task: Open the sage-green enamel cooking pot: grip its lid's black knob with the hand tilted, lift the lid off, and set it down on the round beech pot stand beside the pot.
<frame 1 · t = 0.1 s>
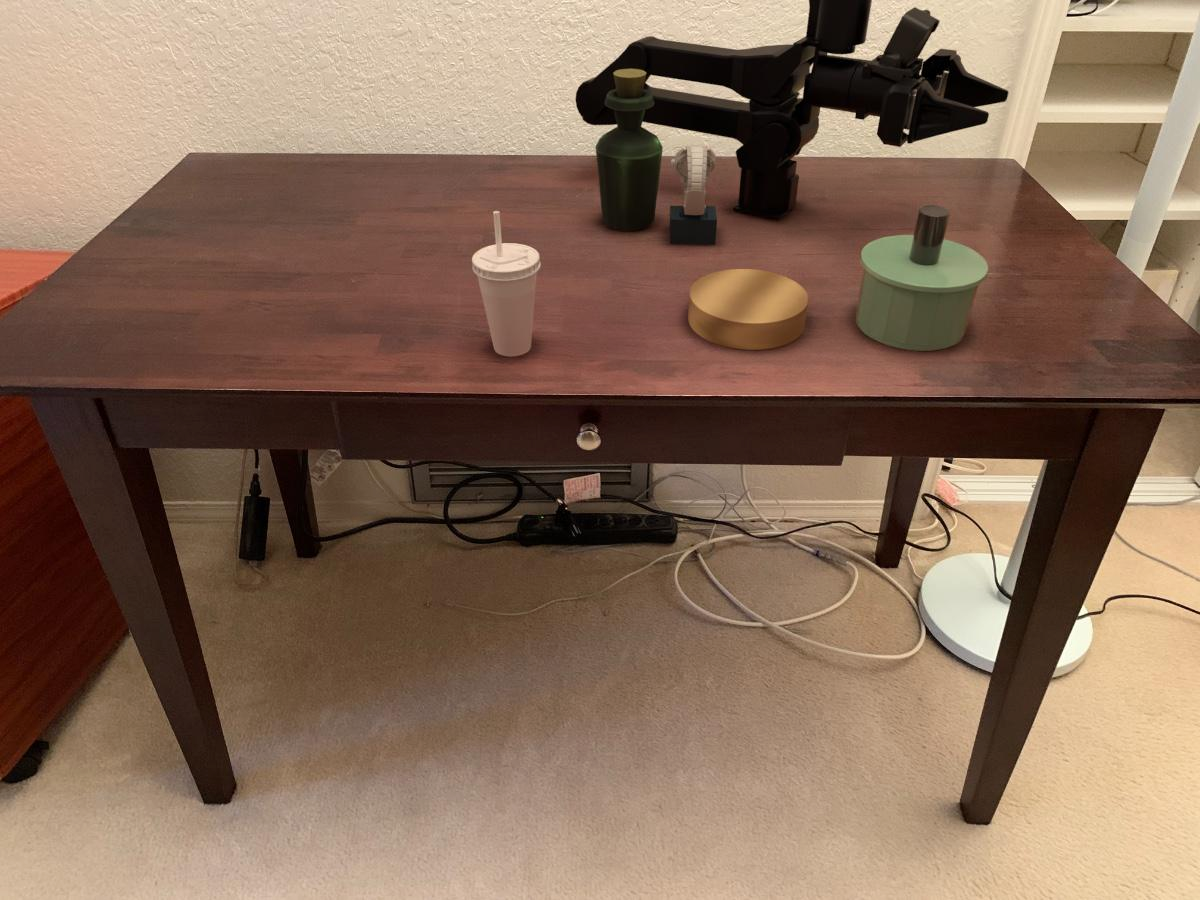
hand: (998, 106, 98), 17 cm above the table, tool horizontal, fingers open, 9 cm apart
potion bottle: (628, 223, 115), on the table
watch: (691, 238, 112), on the table
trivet: (746, 320, 94), on the table
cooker: (909, 324, 93), on the table
smoothie: (512, 348, 90), on the table
cooker lid: (922, 265, 89), point 7 cm above the table, touching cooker
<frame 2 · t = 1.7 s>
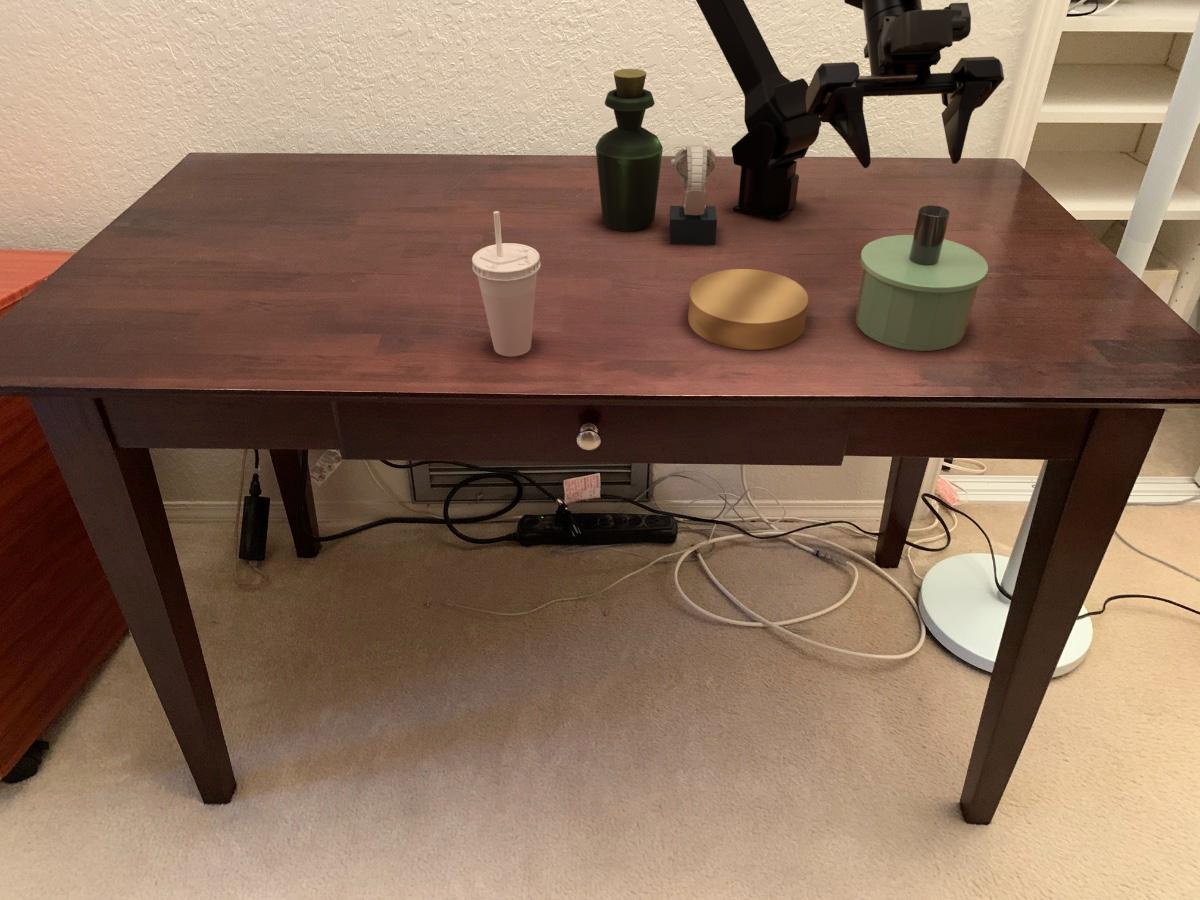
hand: (912, 164, 92), 14 cm above the table, tool tilted 45°, fingers open, 9 cm apart
nothing on the table moved.
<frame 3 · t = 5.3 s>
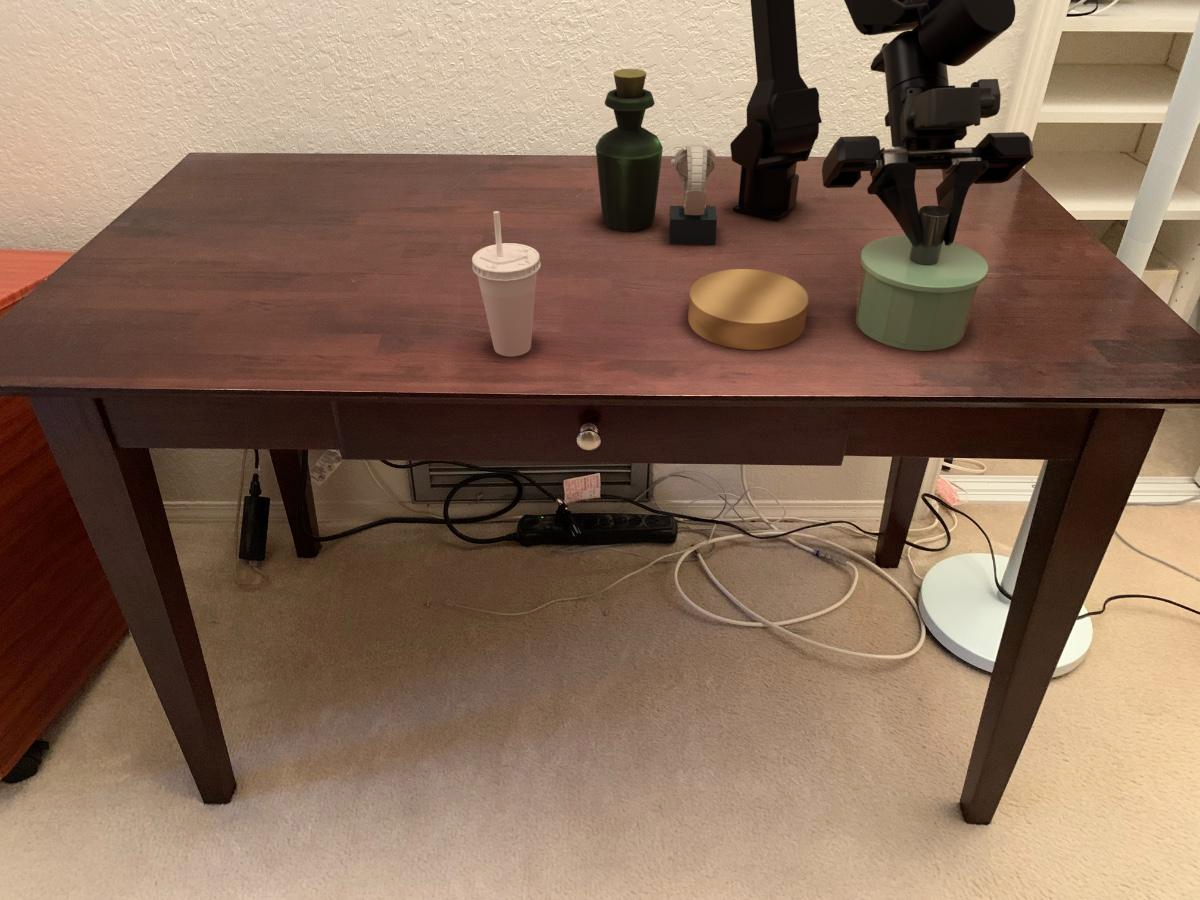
hand: (933, 244, 87), 9 cm above the table, tool tilted 45°, fingers closed on cooker lid, 3 cm apart
cooker lid: (922, 265, 89), point 7 cm above the table, touching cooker, gripper
everything else where it was.
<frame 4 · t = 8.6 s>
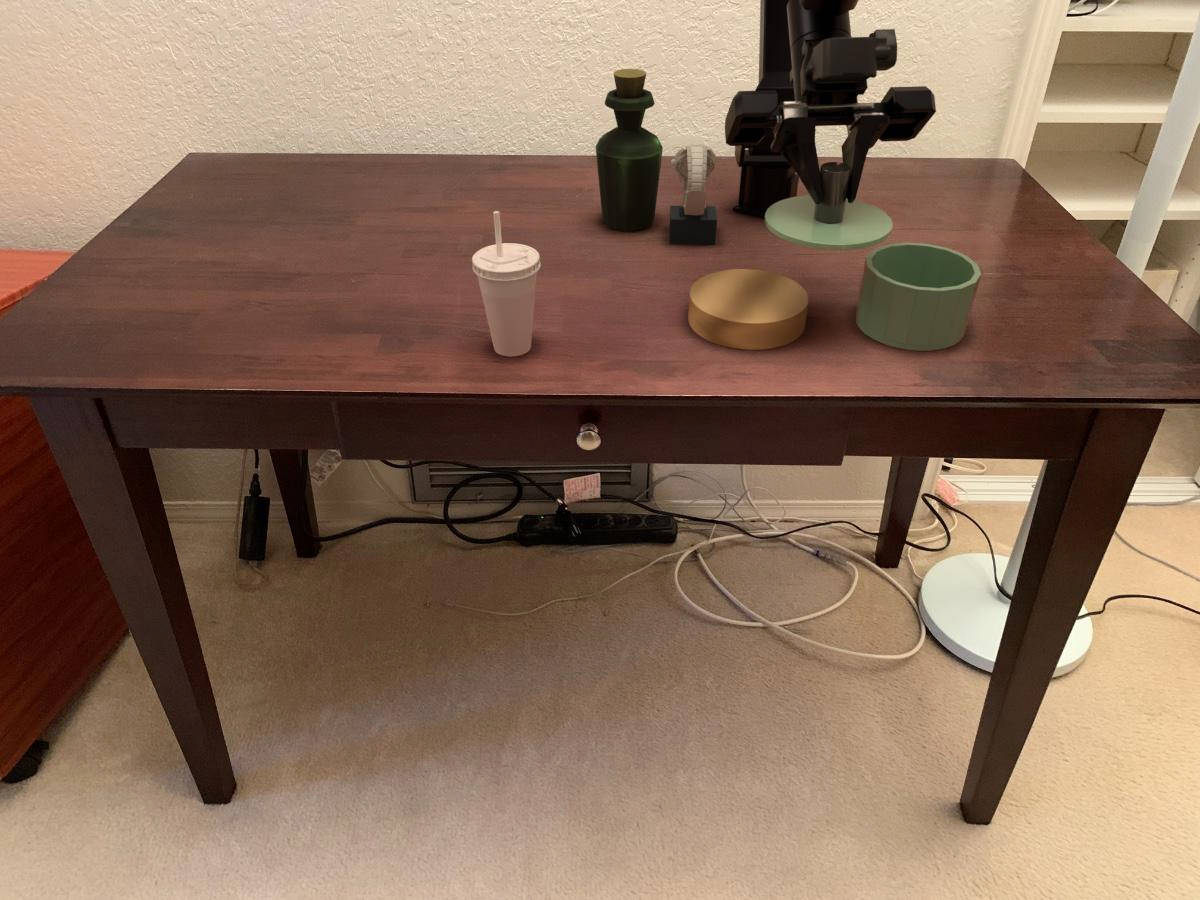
hand: (835, 201, 85), 13 cm above the table, tool tilted 45°, fingers closed on cooker lid, 3 cm apart
cooker lid: (827, 224, 87), point 11 cm above the table, touching gripper
everything else where it was.
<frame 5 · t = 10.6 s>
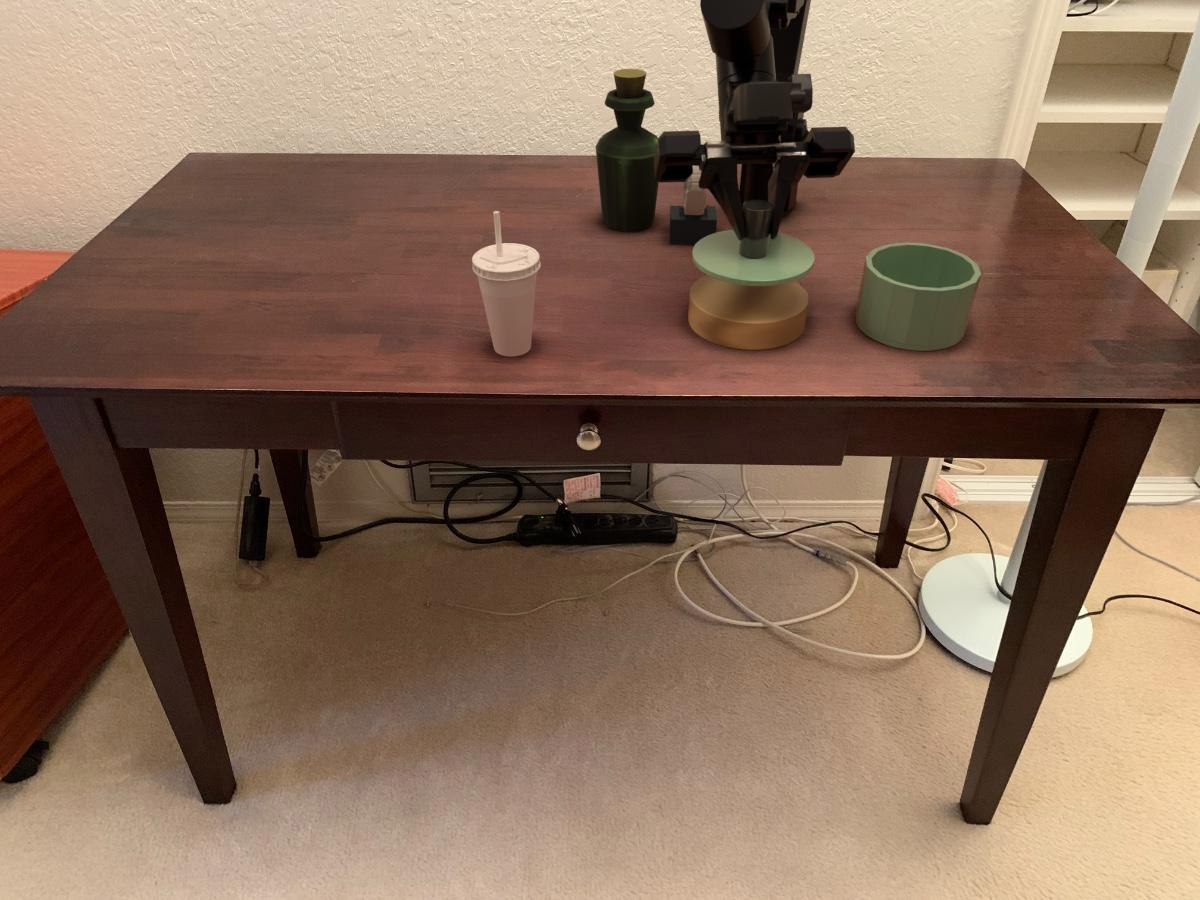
hand: (757, 238, 87), 10 cm above the table, tool tilted 45°, fingers closed on cooker lid, 3 cm apart
cooker lid: (752, 258, 90), point 7 cm above the table, touching gripper
everything else where it was.
when the fingers open (6 cm above the table, at t = 11.8 s): cooker lid stays where it is, resting on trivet.
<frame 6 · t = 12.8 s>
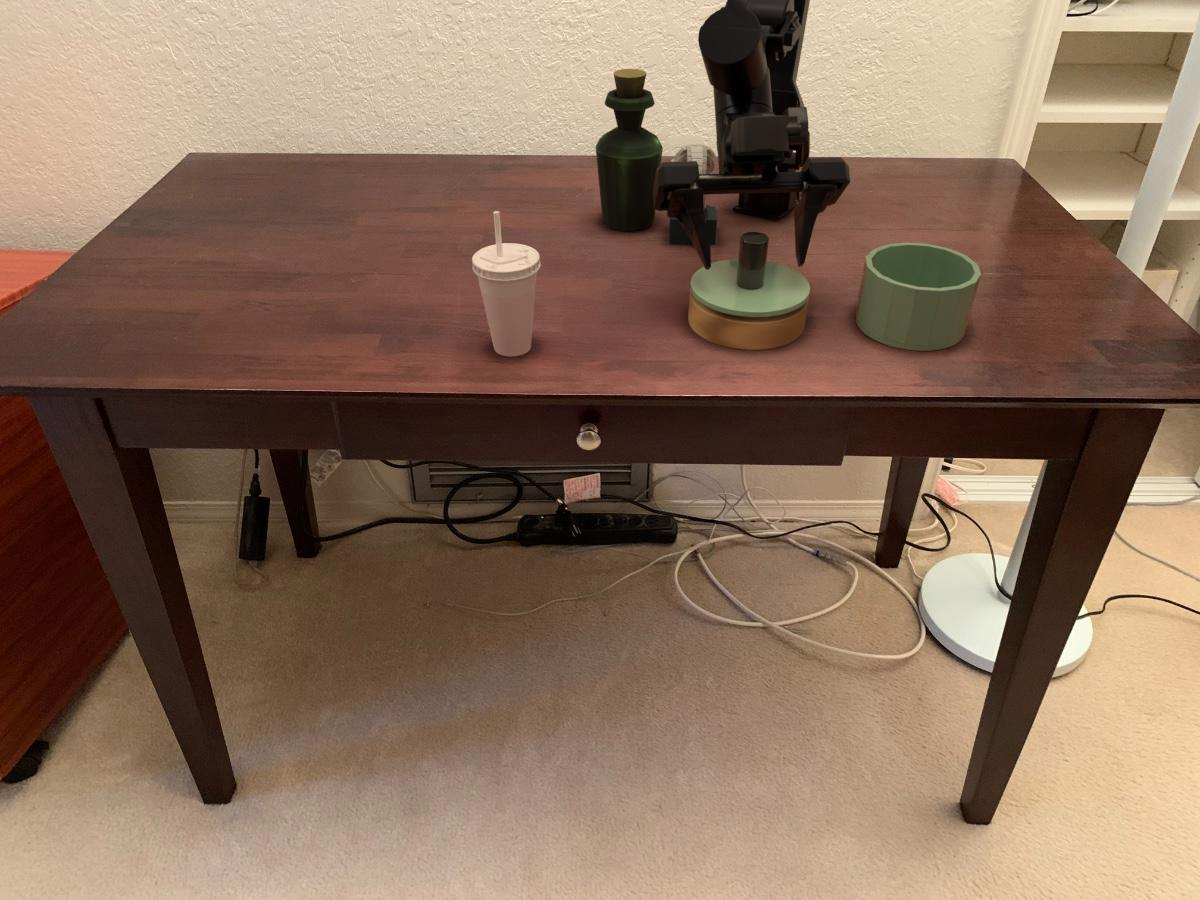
hand: (754, 266, 89), 7 cm above the table, tool tilted 45°, fingers open, 9 cm apart
cooker lid: (749, 289, 92), point 4 cm above the table, touching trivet
everything else where it was.
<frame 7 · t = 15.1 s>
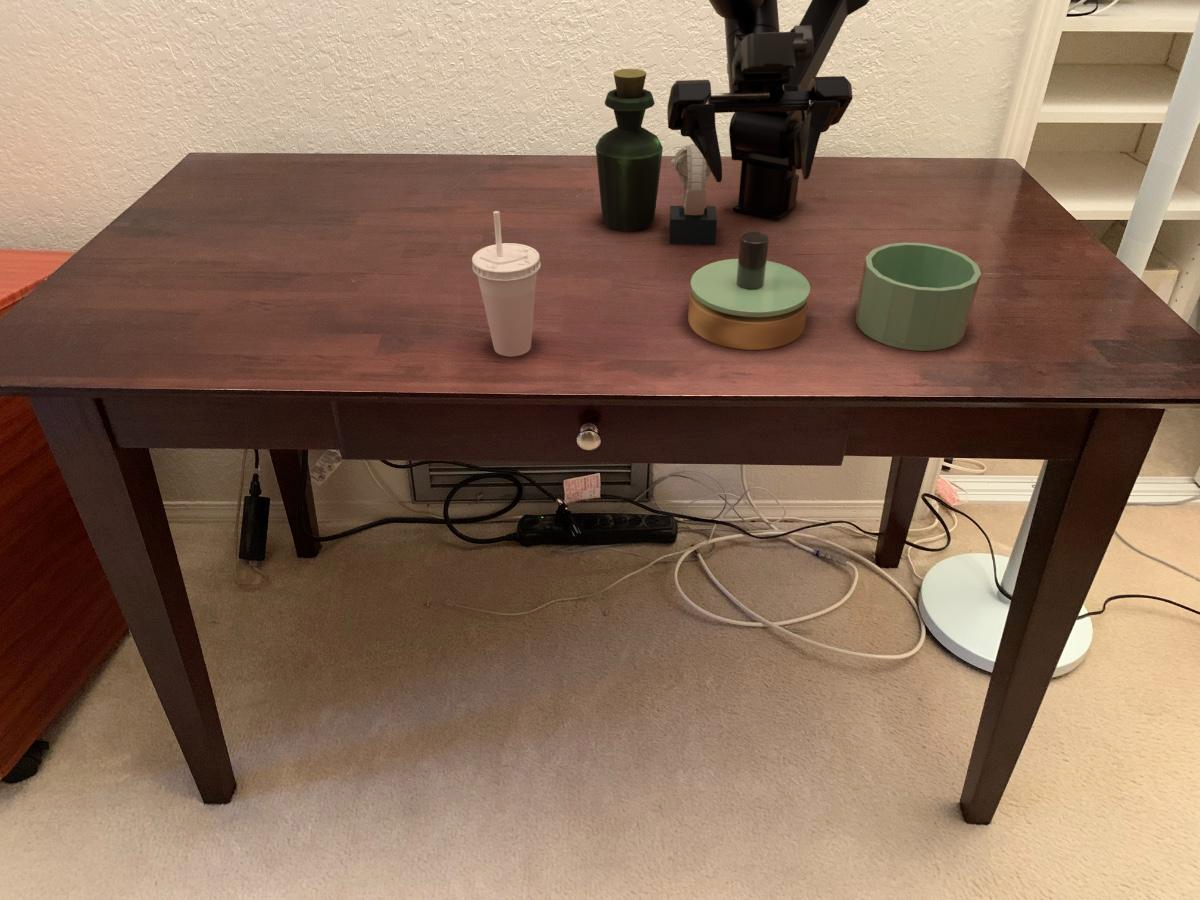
hand: (763, 179, 95), 11 cm above the table, tool tilted 45°, fingers open, 9 cm apart
nothing on the table moved.
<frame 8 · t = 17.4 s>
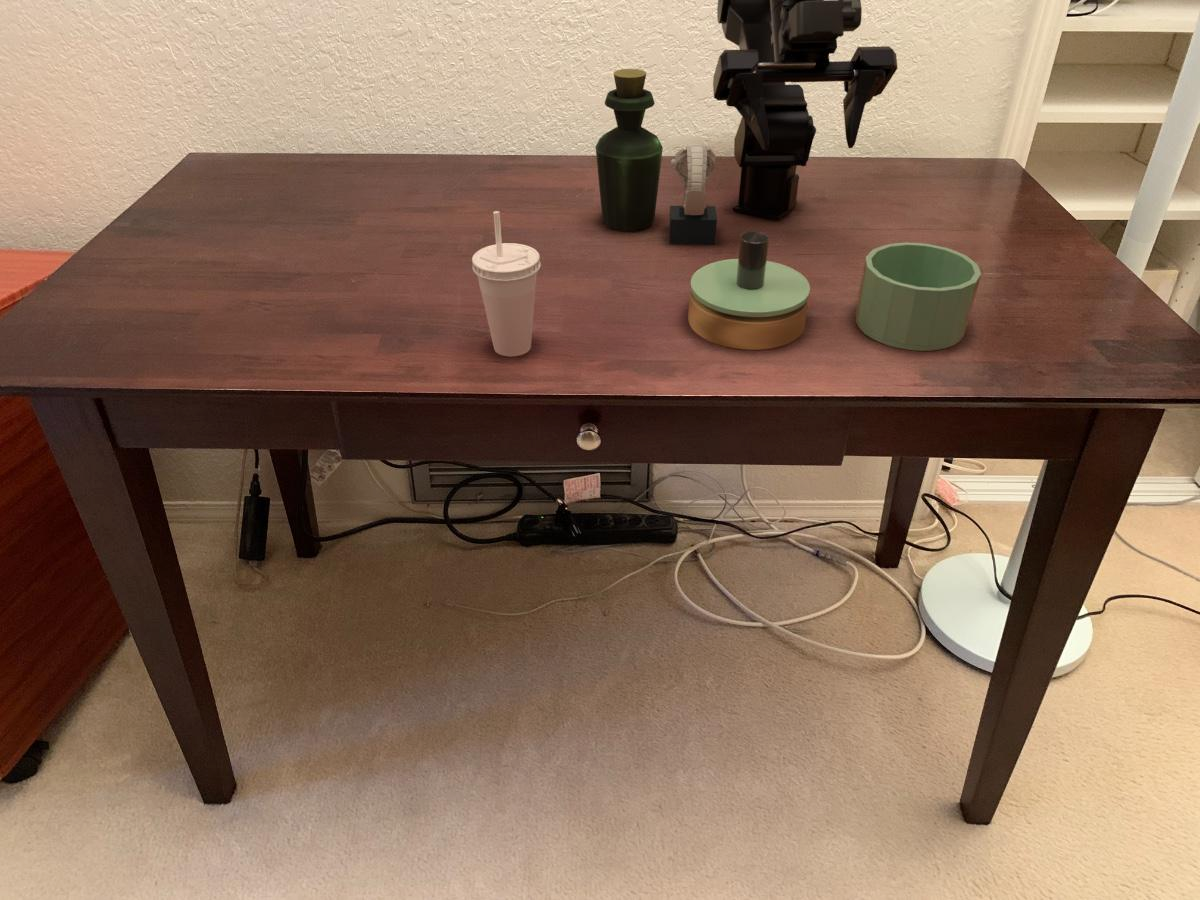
hand: (809, 147, 97), 14 cm above the table, tool tilted 45°, fingers open, 9 cm apart
nothing on the table moved.
at the end: cooker lid inside the target area on the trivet (0.0 cm from its centre), point 3.6 cm above the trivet's base; cooker lid tilted 0°; the gripper is holding nothing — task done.
